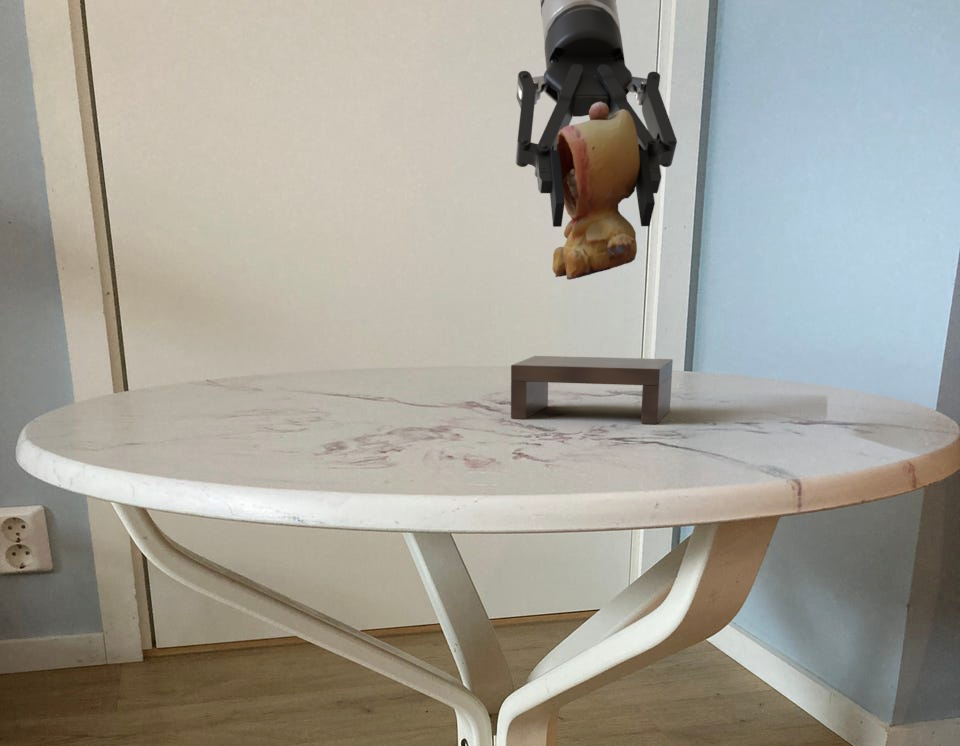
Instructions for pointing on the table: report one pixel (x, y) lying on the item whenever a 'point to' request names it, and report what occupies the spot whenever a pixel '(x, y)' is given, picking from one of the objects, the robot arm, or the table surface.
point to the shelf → (590, 381)
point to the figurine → (597, 192)
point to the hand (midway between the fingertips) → (603, 214)
